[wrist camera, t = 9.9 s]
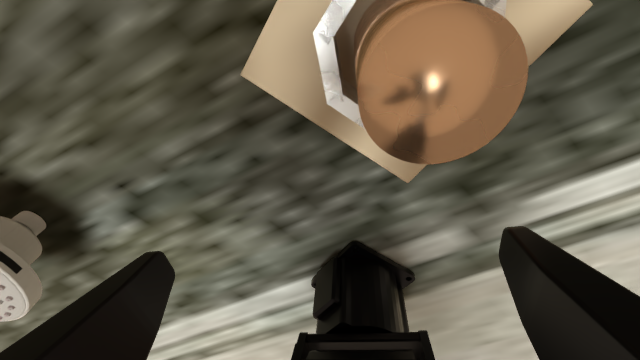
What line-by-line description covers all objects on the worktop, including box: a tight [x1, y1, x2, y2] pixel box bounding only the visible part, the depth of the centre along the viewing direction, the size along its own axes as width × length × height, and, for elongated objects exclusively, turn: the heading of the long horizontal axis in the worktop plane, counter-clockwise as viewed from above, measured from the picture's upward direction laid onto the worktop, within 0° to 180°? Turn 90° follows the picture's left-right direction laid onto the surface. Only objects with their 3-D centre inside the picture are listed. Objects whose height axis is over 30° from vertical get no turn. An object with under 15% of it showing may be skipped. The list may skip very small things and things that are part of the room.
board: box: [241, 0, 593, 183], centre depth 16 cm, size 12×12×1 cm
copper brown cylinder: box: [353, 0, 528, 164], centre depth 12 cm, size 4×4×8 cm
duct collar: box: [313, 0, 507, 130], centre depth 14 cm, size 8×8×2 cm
